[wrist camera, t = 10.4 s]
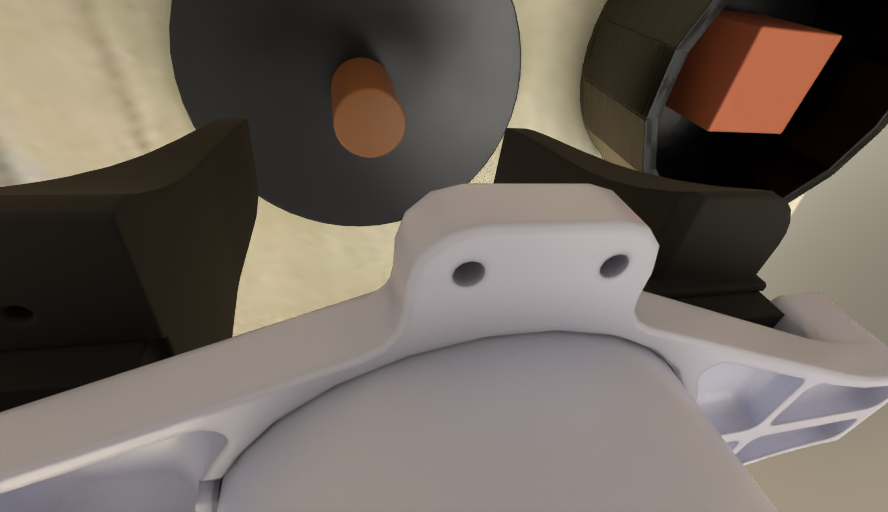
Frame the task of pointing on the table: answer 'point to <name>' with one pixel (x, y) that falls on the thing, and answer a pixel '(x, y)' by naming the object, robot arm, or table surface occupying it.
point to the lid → (352, 94)
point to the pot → (732, 153)
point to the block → (749, 72)
